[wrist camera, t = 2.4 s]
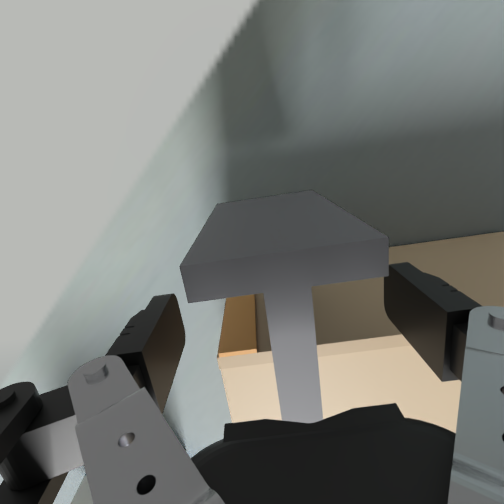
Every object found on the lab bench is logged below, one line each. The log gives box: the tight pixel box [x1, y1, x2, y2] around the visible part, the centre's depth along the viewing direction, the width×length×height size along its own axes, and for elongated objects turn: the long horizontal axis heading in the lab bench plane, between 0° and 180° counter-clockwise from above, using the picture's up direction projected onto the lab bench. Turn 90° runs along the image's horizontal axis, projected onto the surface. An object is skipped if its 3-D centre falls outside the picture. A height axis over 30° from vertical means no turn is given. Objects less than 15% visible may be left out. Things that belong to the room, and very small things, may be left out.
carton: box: [221, 345, 461, 433], centre depth 20 cm, size 20×16×10 cm
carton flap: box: [180, 190, 504, 423], centre depth 14 cm, size 20×6×14 cm, turn 98°
